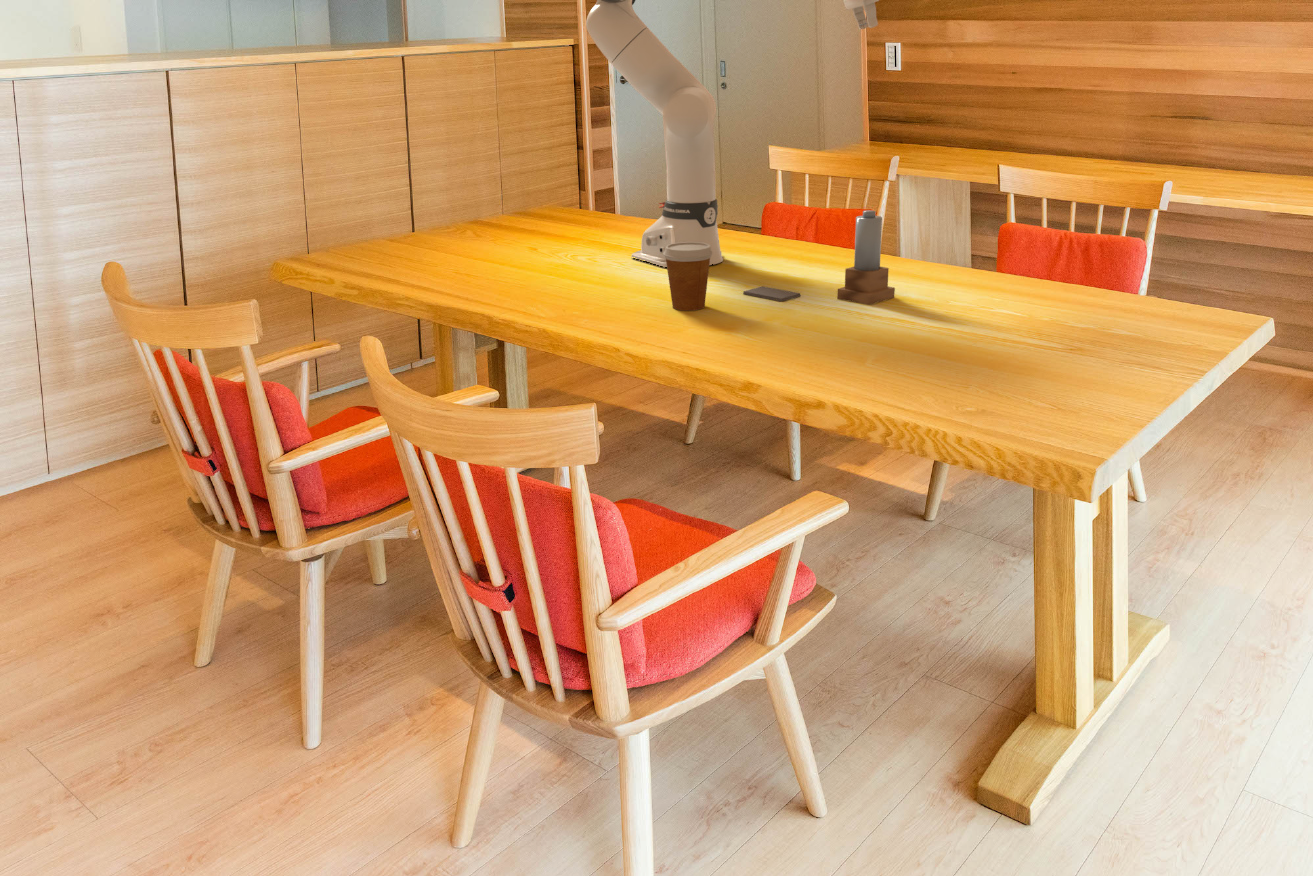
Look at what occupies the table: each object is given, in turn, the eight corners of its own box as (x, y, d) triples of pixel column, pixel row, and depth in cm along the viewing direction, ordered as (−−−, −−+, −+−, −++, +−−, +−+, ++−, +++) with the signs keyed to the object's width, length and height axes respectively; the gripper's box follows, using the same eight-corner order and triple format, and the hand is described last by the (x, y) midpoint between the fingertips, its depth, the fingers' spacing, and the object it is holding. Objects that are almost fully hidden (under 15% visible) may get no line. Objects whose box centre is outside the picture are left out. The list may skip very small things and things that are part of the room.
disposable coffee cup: (662, 302, 227) (660, 242, 223) (709, 300, 228) (708, 240, 224) (666, 314, 218) (665, 251, 214) (716, 311, 219) (715, 249, 215)
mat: (743, 294, 232) (743, 291, 232) (762, 289, 236) (762, 286, 236) (781, 301, 226) (781, 298, 225) (800, 296, 229) (800, 293, 229)
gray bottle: (849, 268, 224) (851, 211, 221) (864, 264, 228) (866, 208, 224) (869, 272, 221) (872, 214, 217) (885, 267, 224) (887, 210, 220)
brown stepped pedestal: (837, 298, 227) (838, 268, 225) (861, 291, 232) (862, 262, 230) (870, 304, 221) (871, 274, 219) (894, 297, 226) (895, 267, 224)
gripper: (827, -31, 244) (844, 34, 249) (845, -40, 225) (864, 31, 229) (855, -41, 244) (872, 24, 248) (876, -50, 225) (894, 20, 229)
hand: (868, 27), depth 238 cm, fingers open, 8 cm apart
